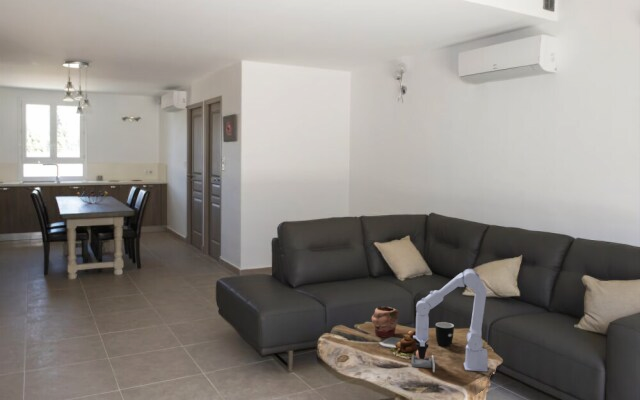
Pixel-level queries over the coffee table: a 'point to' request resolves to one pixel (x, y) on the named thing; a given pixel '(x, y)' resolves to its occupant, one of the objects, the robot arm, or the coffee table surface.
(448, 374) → the coffee table surface
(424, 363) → the dish
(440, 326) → the mug
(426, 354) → the ball
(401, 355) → the bear figurine
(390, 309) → the decorative planter
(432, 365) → the acrylic wall
